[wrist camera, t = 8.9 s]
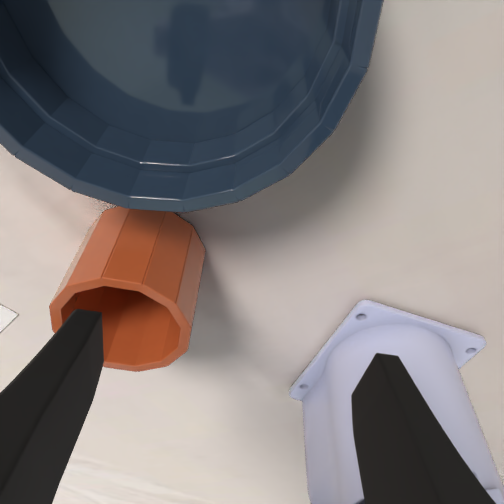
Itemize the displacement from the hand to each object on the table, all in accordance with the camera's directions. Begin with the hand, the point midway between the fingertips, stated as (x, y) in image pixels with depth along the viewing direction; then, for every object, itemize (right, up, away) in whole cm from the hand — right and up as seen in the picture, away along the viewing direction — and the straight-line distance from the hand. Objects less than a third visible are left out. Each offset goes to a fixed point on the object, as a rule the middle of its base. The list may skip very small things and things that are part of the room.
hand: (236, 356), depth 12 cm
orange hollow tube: (-5, +3, +10) cm, 11 cm away
